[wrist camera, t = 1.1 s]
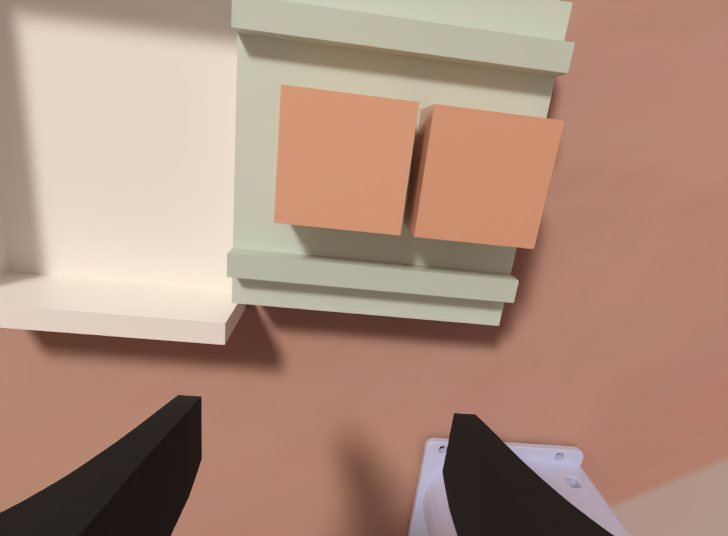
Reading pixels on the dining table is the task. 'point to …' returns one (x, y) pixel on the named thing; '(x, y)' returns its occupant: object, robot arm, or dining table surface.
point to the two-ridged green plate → (427, 86)
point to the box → (118, 167)
